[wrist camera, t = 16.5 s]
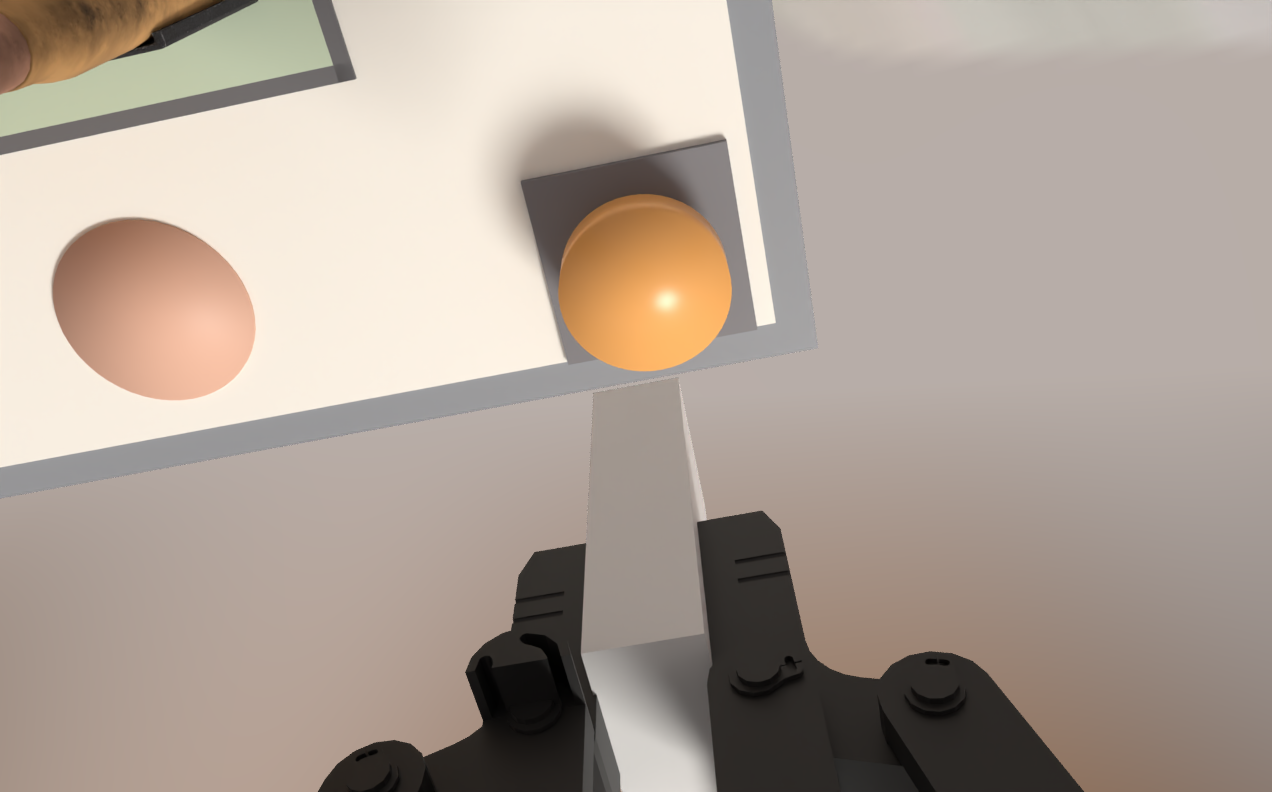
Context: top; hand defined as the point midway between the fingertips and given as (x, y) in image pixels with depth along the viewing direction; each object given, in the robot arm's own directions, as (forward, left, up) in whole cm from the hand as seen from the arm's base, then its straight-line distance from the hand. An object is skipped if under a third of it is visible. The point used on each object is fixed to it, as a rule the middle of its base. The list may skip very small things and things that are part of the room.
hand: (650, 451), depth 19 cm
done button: (0, 0, -8) cm, 8 cm away
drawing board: (-5, -8, -10) cm, 14 cm away
